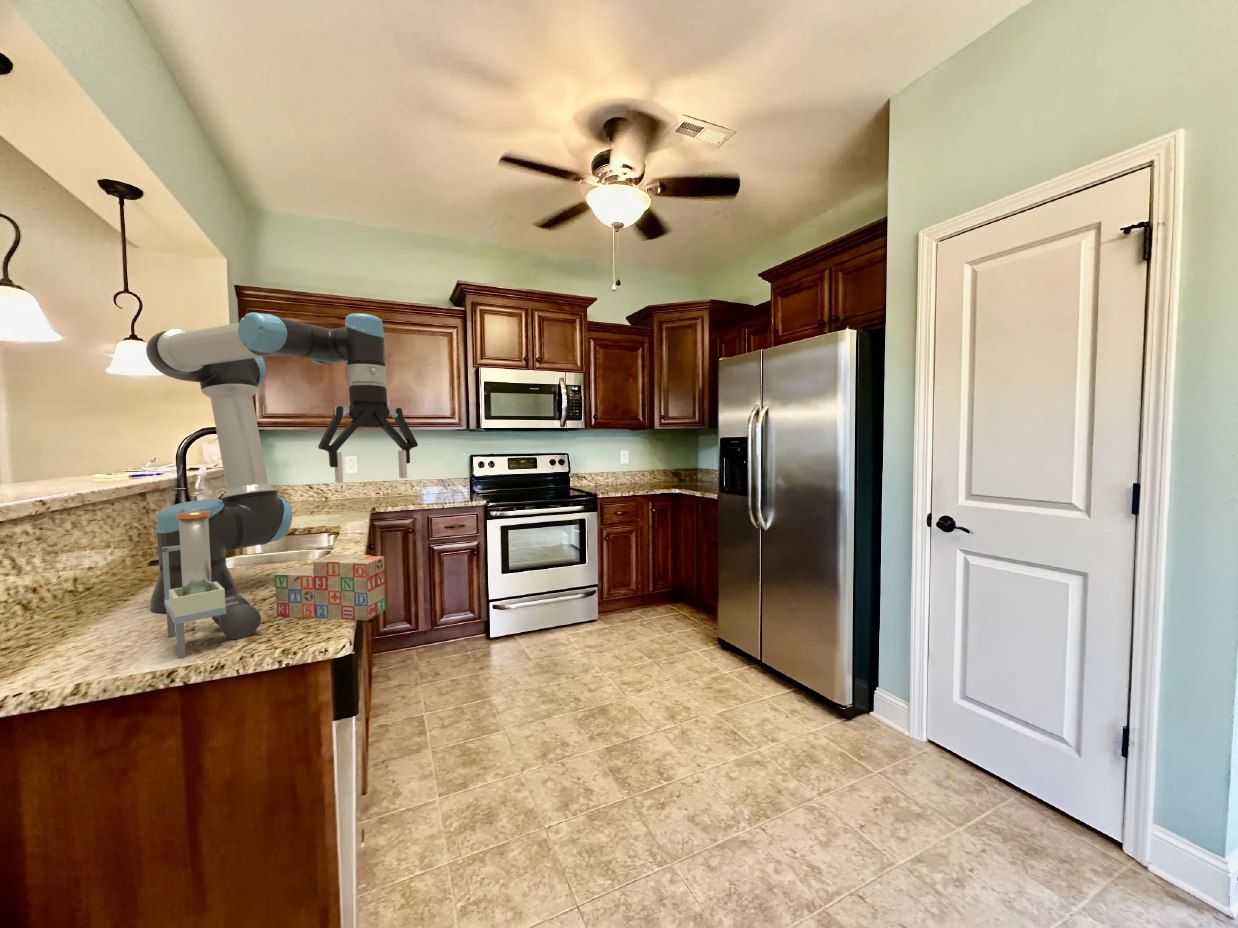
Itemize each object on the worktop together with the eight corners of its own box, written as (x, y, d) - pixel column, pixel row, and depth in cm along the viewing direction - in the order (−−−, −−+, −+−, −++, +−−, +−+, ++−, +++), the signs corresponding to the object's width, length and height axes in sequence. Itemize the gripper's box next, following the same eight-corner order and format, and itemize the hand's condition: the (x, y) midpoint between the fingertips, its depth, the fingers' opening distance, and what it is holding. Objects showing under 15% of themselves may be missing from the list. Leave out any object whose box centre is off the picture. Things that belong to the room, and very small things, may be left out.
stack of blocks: (275, 617, 103) (272, 560, 103) (298, 607, 109) (296, 553, 109) (368, 621, 101) (366, 562, 100) (386, 610, 107) (384, 555, 106)
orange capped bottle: (179, 604, 88) (174, 512, 87) (212, 598, 91) (207, 510, 91) (183, 610, 85) (178, 515, 84) (216, 603, 88) (212, 512, 88)
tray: (169, 607, 88) (168, 589, 88) (217, 598, 93) (216, 581, 93) (175, 617, 83) (173, 598, 83) (225, 607, 88) (224, 589, 88)
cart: (166, 635, 93) (161, 547, 93) (246, 617, 103) (242, 537, 102) (176, 658, 83) (170, 559, 83) (264, 636, 93) (260, 547, 92)
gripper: (308, 379, 97) (313, 485, 98) (429, 387, 115) (433, 476, 116) (298, 383, 103) (304, 483, 103) (416, 390, 120) (420, 475, 121)
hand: (372, 480), depth 110 cm, fingers open, 13 cm apart
